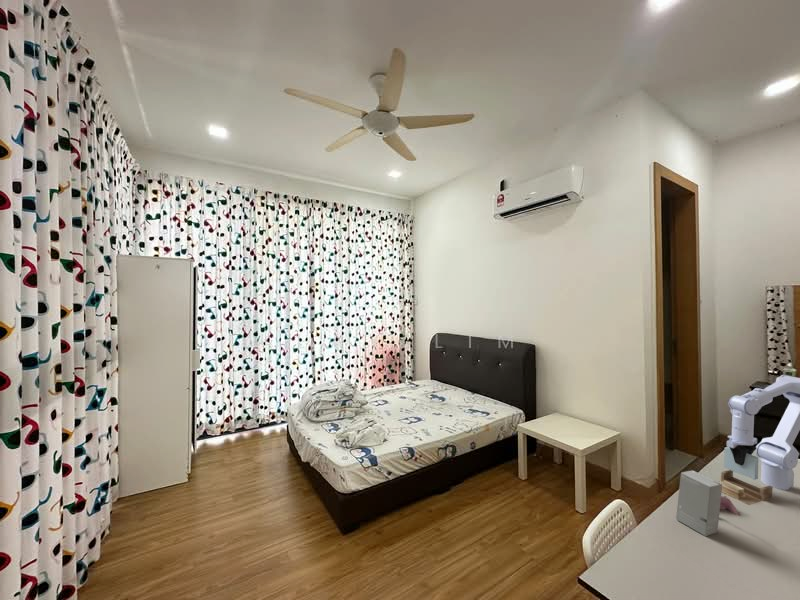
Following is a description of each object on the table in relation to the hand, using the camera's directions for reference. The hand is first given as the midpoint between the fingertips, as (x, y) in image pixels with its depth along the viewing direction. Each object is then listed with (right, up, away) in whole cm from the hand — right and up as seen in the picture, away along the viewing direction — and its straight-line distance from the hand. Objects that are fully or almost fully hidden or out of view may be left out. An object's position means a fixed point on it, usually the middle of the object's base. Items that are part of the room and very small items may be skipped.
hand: (741, 463), depth 126 cm
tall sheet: (0, -4, 0) cm, 4 cm away
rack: (-4, -10, -3) cm, 11 cm away
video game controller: (-22, -10, -14) cm, 28 cm away
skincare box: (-35, -10, -21) cm, 42 cm away
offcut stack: (-9, -9, -5) cm, 13 cm away
